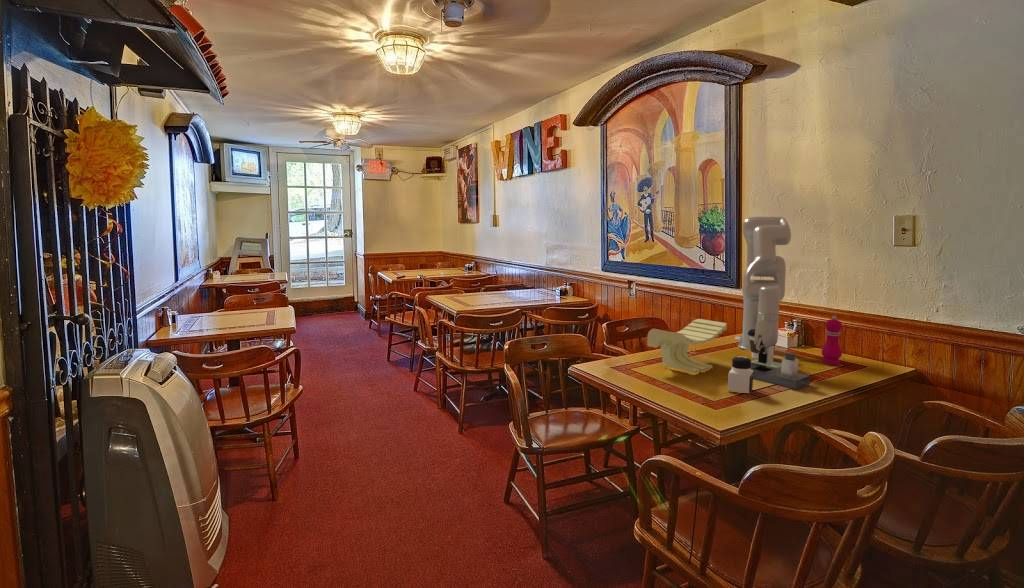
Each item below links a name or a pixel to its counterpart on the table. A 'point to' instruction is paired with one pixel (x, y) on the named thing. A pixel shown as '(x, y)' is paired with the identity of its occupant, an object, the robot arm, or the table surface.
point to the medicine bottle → (740, 375)
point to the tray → (775, 364)
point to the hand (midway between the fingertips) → (765, 361)
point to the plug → (768, 355)
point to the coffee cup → (752, 345)
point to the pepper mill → (832, 342)
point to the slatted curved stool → (685, 343)
